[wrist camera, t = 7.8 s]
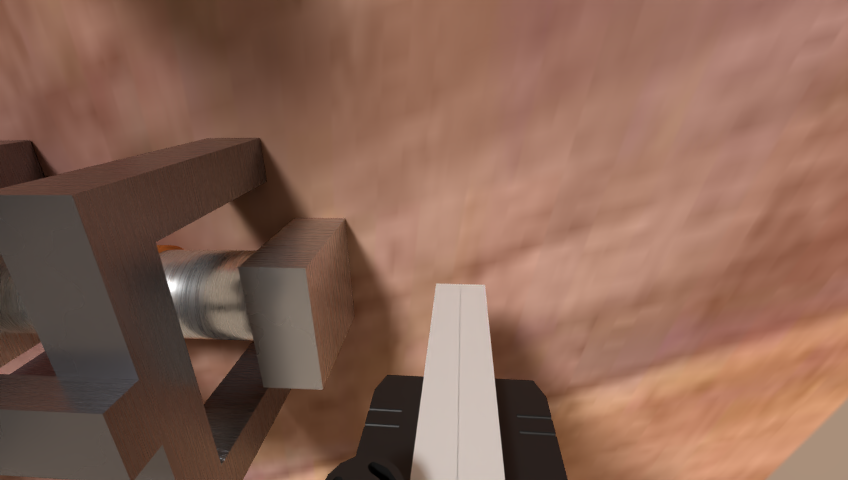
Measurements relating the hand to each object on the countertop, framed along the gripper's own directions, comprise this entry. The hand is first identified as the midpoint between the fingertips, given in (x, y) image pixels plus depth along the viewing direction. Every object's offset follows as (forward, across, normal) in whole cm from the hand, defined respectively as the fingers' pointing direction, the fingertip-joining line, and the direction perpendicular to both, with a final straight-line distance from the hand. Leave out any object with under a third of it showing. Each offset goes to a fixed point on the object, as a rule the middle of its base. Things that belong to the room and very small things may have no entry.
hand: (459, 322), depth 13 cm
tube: (+3, -12, 0) cm, 12 cm away
